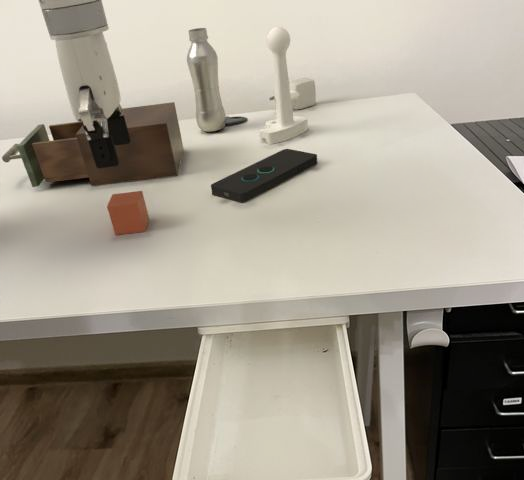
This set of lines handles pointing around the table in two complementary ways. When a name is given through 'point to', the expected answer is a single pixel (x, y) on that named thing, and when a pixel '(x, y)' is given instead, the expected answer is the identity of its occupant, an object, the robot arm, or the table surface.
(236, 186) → the smart home device
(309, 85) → the power adapter
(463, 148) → the table surface
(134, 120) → the cabinet
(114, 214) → the block
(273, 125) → the joystick
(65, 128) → the drawer
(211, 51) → the metal water bottle
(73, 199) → the table surface
